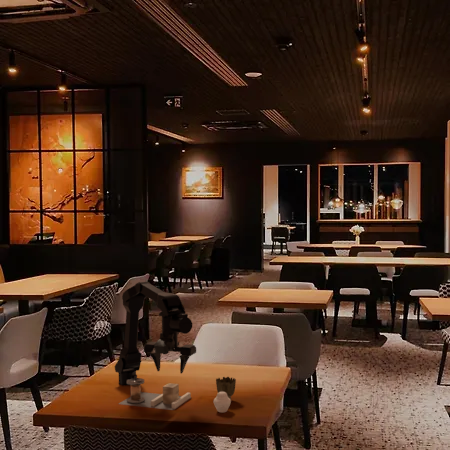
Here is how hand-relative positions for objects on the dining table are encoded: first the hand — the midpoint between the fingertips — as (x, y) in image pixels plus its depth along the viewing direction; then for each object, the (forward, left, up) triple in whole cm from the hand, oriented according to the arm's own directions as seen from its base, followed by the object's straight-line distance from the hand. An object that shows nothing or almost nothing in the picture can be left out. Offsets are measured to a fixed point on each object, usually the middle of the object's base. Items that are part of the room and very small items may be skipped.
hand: (170, 372), depth 234 cm
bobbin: (-12, -4, -11) cm, 16 cm away
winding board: (-5, -1, -12) cm, 13 cm away
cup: (+18, +11, -12) cm, 24 cm away
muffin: (+21, -1, -12) cm, 24 cm away
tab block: (+1, -1, -11) cm, 11 cm away
